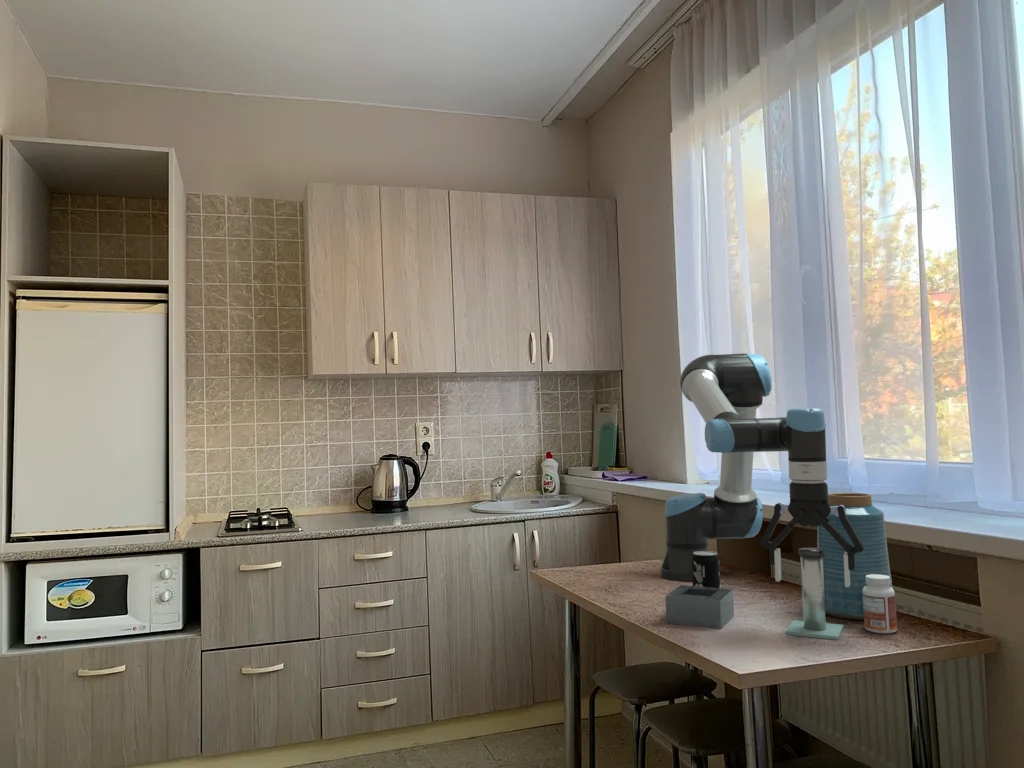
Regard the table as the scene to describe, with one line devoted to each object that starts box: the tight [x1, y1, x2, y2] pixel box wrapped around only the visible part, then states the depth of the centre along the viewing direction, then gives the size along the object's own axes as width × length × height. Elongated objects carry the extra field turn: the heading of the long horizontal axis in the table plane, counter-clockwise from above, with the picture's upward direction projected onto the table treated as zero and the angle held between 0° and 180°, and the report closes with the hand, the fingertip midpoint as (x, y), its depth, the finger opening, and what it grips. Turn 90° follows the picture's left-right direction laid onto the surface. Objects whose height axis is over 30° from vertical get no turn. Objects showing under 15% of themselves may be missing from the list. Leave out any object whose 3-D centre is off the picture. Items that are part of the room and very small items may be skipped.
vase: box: [816, 492, 894, 621], centre depth 174 cm, size 16×16×27 cm
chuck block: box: [665, 584, 735, 630], centre depth 170 cm, size 12×12×6 cm
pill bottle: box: [862, 574, 898, 635], centre depth 158 cm, size 6×6×11 cm
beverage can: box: [692, 550, 721, 588], centre depth 187 cm, size 7×7×12 cm
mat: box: [785, 619, 844, 641], centre depth 158 cm, size 10×10×1 cm
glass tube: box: [798, 547, 827, 631], centre depth 159 cm, size 5×5×16 cm
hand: (812, 583), depth 159 cm, fingers open, 13 cm apart
